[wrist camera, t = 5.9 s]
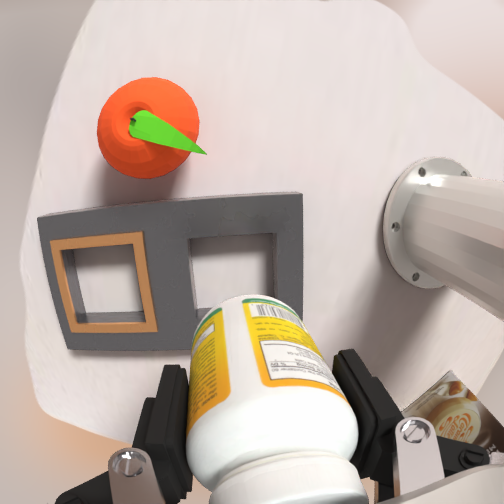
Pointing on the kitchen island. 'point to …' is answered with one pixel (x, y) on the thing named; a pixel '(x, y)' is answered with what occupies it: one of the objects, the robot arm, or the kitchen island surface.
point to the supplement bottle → (267, 411)
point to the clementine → (148, 128)
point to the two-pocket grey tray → (164, 263)
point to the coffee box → (458, 415)
